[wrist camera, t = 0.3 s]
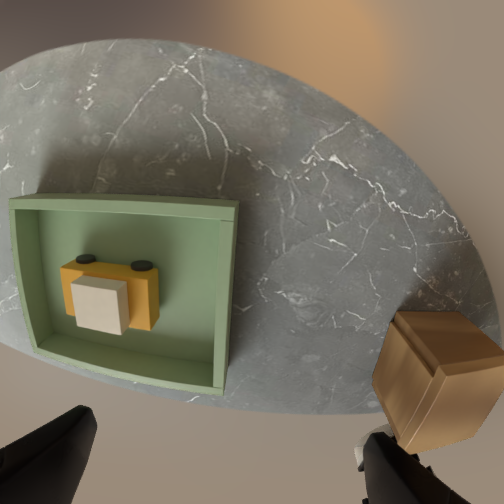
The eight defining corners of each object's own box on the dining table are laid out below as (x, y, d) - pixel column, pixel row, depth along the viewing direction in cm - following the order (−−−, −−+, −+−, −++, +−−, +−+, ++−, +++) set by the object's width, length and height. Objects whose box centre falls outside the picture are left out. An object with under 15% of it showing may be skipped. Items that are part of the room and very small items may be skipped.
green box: (227, 367, 23) (223, 396, 20) (53, 334, 23) (33, 352, 20) (239, 200, 20) (235, 207, 16) (35, 193, 20) (8, 198, 16)
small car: (161, 261, 20) (138, 284, 16) (162, 316, 22) (143, 347, 17) (78, 252, 20) (46, 270, 16) (84, 303, 22) (56, 327, 17)
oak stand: (433, 378, 24) (473, 437, 15) (368, 384, 24) (399, 457, 15) (460, 310, 22) (518, 361, 13) (393, 310, 22) (447, 376, 13)
